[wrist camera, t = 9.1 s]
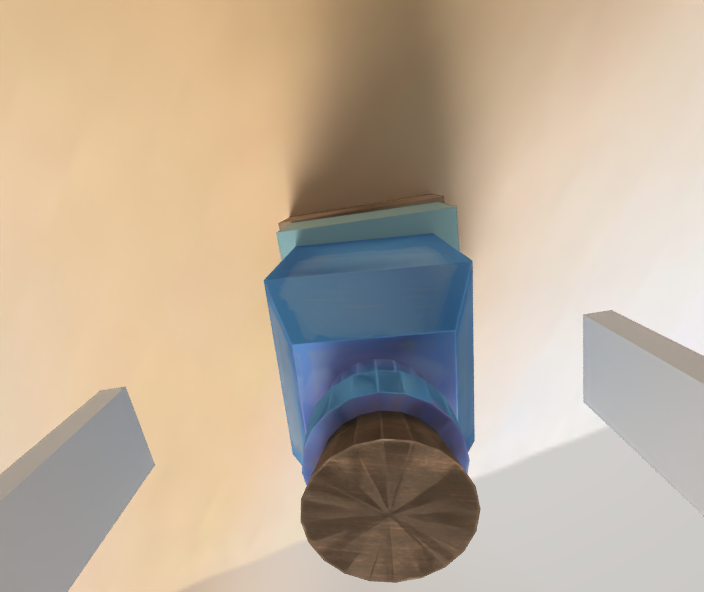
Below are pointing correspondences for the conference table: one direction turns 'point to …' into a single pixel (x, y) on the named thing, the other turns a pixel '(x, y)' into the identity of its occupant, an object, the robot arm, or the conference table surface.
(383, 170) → the conference table surface
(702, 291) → the conference table surface
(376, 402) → the perfume bottle
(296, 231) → the teal slab
